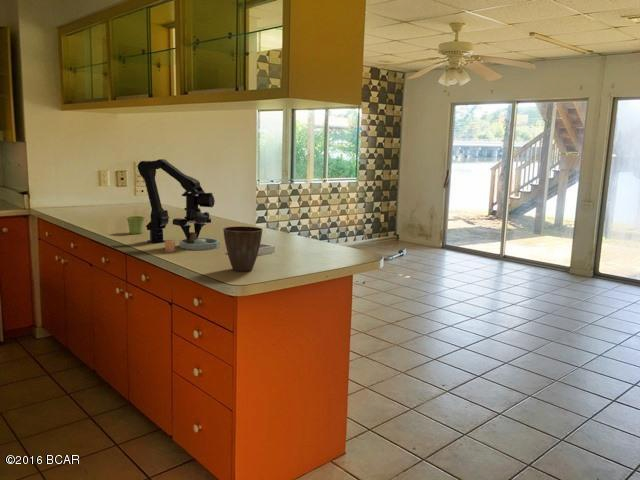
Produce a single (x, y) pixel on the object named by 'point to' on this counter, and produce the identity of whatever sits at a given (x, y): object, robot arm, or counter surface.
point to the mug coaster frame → (266, 249)
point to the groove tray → (200, 244)
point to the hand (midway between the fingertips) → (192, 238)
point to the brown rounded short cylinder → (192, 237)
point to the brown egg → (169, 246)
